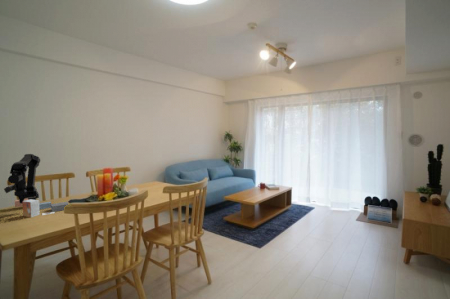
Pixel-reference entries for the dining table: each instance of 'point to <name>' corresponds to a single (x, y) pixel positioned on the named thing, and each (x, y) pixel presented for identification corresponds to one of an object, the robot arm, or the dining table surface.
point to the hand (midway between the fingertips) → (21, 202)
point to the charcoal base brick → (58, 206)
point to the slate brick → (45, 205)
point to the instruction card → (48, 213)
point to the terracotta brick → (18, 204)
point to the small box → (31, 208)
